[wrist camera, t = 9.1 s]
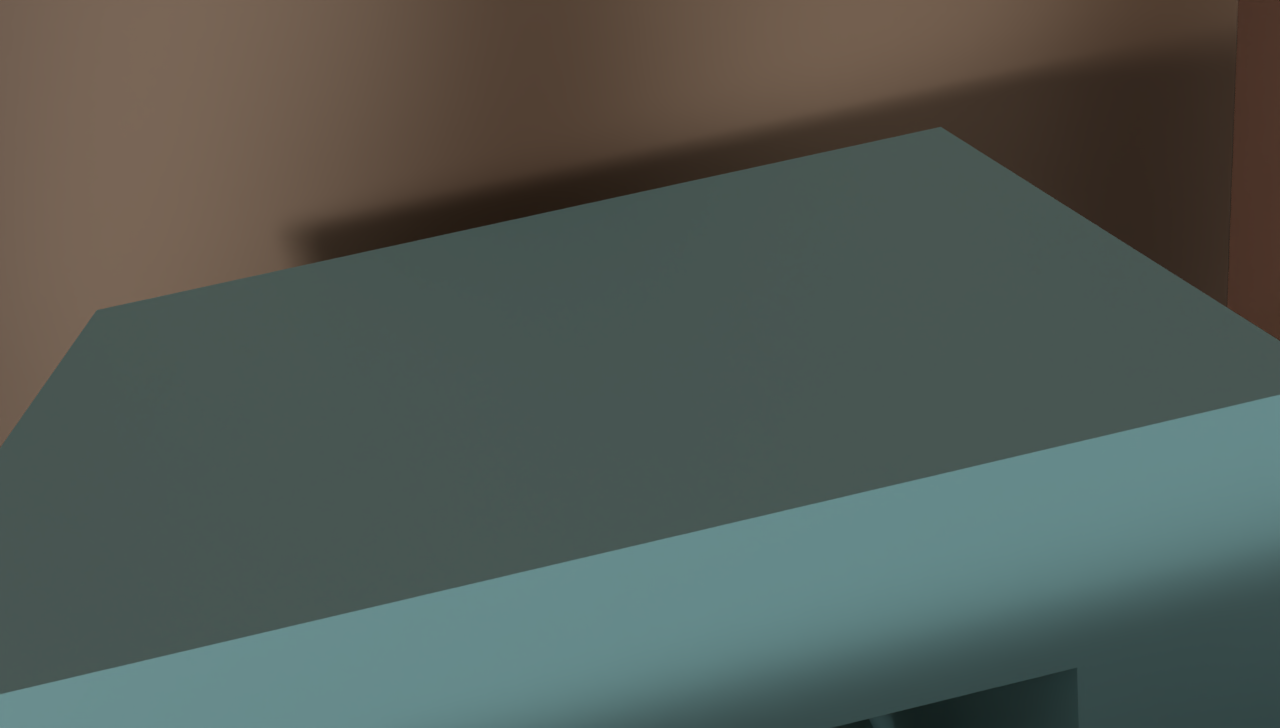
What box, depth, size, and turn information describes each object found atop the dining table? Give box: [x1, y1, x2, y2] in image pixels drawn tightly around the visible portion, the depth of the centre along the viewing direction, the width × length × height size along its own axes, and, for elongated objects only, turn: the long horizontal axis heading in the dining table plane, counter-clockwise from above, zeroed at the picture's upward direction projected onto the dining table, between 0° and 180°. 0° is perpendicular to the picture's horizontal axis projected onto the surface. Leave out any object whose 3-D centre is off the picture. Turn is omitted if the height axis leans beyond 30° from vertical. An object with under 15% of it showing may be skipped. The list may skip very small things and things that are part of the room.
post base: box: [0, 0, 1238, 447], centre depth 10 cm, size 14×14×8 cm
